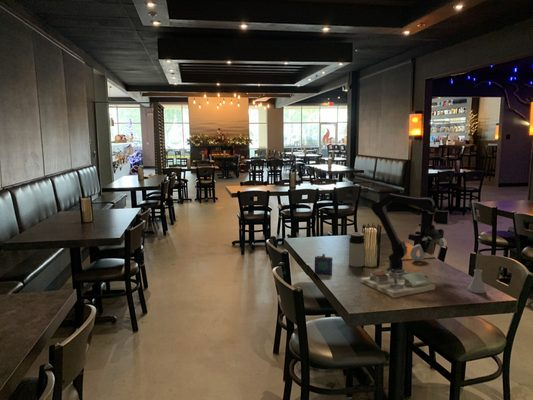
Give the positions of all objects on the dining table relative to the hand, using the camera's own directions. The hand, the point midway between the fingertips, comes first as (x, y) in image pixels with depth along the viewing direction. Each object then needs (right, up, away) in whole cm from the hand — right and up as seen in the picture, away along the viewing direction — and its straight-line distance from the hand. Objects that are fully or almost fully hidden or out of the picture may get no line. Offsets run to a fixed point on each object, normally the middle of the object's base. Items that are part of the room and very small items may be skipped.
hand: (425, 252), depth 216 cm
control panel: (-19, -14, -14) cm, 27 cm away
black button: (-16, -11, -7) cm, 20 cm away
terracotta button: (-27, -10, -12) cm, 31 cm away
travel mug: (-31, -10, +19) cm, 38 cm away
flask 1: (-52, -12, +4) cm, 53 cm away
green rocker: (-11, -11, -18) cm, 23 cm away
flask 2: (+16, -15, -21) cm, 31 cm away
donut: (+6, -9, +27) cm, 28 cm away
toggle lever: (-22, -12, -23) cm, 34 cm away
